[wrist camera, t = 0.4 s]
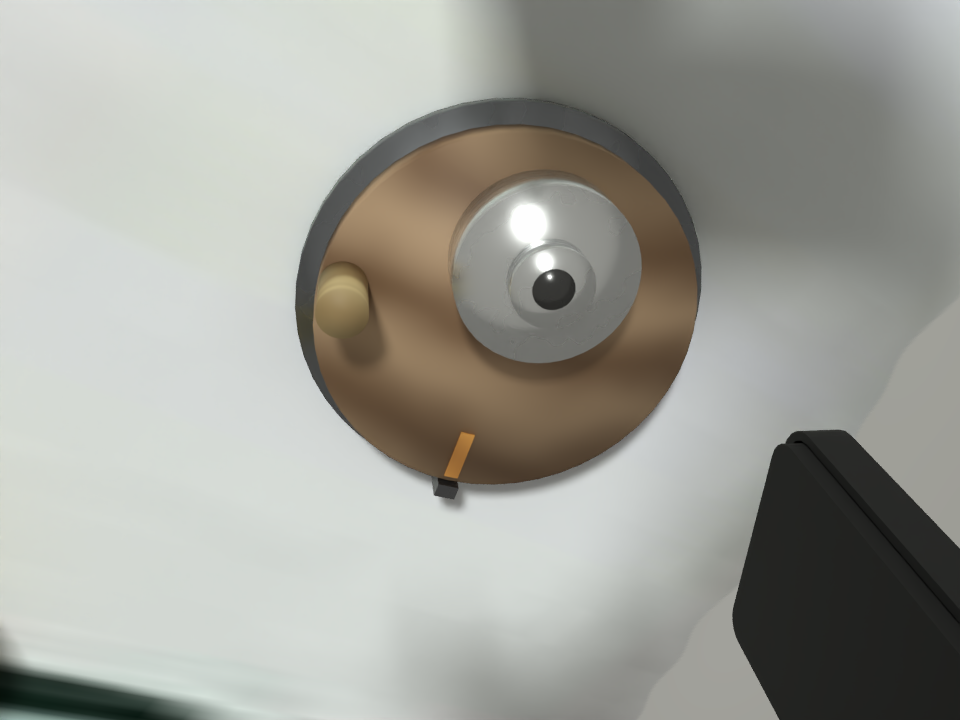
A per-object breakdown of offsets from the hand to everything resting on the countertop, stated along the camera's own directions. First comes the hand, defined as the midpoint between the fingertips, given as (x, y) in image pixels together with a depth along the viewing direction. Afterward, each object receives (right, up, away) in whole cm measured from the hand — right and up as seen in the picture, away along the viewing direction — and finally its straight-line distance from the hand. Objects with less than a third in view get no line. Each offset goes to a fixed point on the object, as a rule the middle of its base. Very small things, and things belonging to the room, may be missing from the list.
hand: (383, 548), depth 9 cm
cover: (+4, +7, +31) cm, 32 cm away
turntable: (+2, +5, +34) cm, 35 cm away
